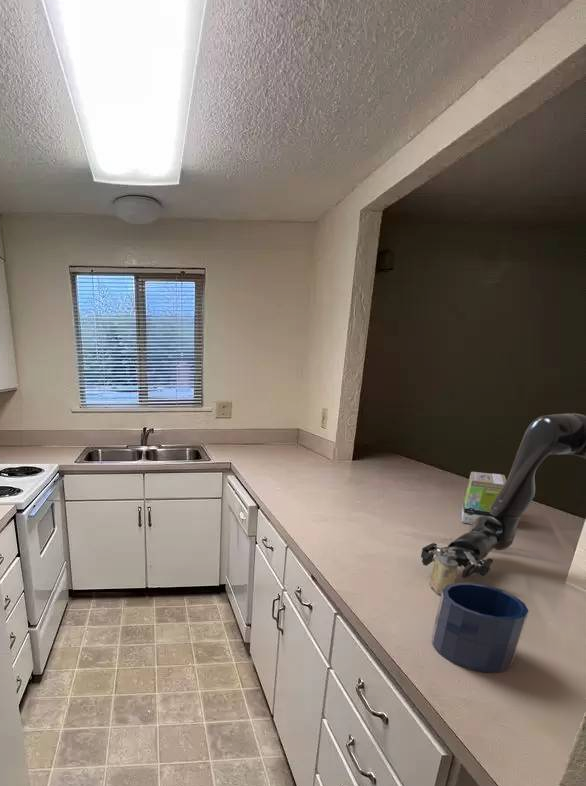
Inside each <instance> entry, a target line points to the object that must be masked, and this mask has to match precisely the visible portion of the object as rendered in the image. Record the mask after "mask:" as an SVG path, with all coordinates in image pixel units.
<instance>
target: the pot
mask: <svg viewBox="0 0 586 786" xmlns="http://www.w3.org/2000/svg"><path fill="white" fill-rule="evenodd" d="M529 611H530V610H529V609H528V607H527V605H526V603H525V602H524V601H523V600H521V599H519V598H518V597H517V596H515V595H513V594H511V593H509V592H507V591H505V590H502V589H500V588H496V587H493V586H489V585H487V584H479V583H474V582H455V583H454V584H450V585H446V587H445V588H444V589H443V590H442V593H441V595H440V597H439V603H438V607H437V612H436V616H435V620H434V624H433V625H434V626H433V630H432V635H431V644H432V646H433V648H434V650H435V651H436V652H437V653H438V654H439V655H440V656H442V657H443V658H444V659H446V660H447V661H449V662H451V663H453V664H455V665H457V666H459V667H462V668H464V669H467V670H470V671H473V672H474V671H475V672H479V673H484V674H485V673H486V674H498V673H503V672H505V671H508V670H509V669H510V668H511V667H512V664H513V662H514V660H515V658H516V657H515V656H516V653H517V651H518V647H519V643H520V641H521V637H522V634H523V631H524V628H525V624H526V620H527V618H528V614H529Z"/></svg>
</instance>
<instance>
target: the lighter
mask: <svg viewBox="0 0 586 786" xmlns="http://www.w3.org/2000/svg"><path fill="white" fill-rule="evenodd" d="M439 548H440V553H438V554H437V556H436V555H435V557H436V558H435V557H434V558H435V561H433V568H432V572H431V576H430V582H429V585H430V588H431V590H433V591H434V592H435V593H436V594H437V595H439V596H441V593H442V590H443V589H444V588H445V587H446V585H450V584H454V583H456V579H457V574H458V570H459V568H458V567H459V566H458V563H457V562H456V561H455V560H454V559H456V558H457V556H456V555H455V554H456V552H455V551H451V549H450V548H447V549H446V551H445V550H444V547H443V546H441V547H439ZM443 552H445V553H446V554H445V553H443Z"/></svg>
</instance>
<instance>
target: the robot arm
mask: <svg viewBox="0 0 586 786" xmlns="http://www.w3.org/2000/svg"><path fill="white" fill-rule="evenodd" d="M556 455H557V456H561V455H571V456H576V457H578V458H582V459H584V460H586V415H584V414H582V413H581V414H580V413H573V412H572V413H571V412H570V413H569V412H568V413H554V414H553V413H551V414H550V413H549V414H544V415H540V416H538V417H536V418H535V419H533V420H532V422H530V424H529V425H528V427H527V428H526V429H525V432H524V434H523V437H522V439H521V442H520V444H519V447H518V449H517V452H516V455H515V457H514V460H513V463H512V466H511V468H510V471H509V473H508V476H507V478H506V482H505V484H504V486H503V488H502V489H501V491H500V493H499V494H498V496H497V497H496V499H495V501H494V502H493V504H492V505H491V507H490V514H491V515H492V516H493V517H494V518H495V519H496V520H497V521H496V520H494V519H492V518H490V517H487V516H480V517H478V518H476V519H475V520H474V521H473V523H472V524H470V526H469V529H468V532H466V533H464V534H461V535H460V536H458V537H457V538H455V539H454V540H452V541H451V542H450V543H449V544H448V545H447V546H444V547H443V548H444V550H445V551H446V549H447V548H450V549H451V551H455V552H456V554H455V555H456V556H457V558H456V559H454V560H455V561H456V562H457V563H458V567H460V568H463V569H462V575H461V577H462V578H464V579H467V578H471V577H472V576H473V575H477V574H479V576H480V577H486V576H487V575H488V574H489V573H490V571H491V570H492V568H493V563H494V559H493V558H487V556H488V555H489V554H490V553H491V552H492V551H493V550H495V551H503V550H506V549H508V548H509V547H511V546H512V544H513V542H514V540H515V537H516V534H517V529H518V526H519V523H520V519H521V518H522V517H523V515H524V513H525V512H526V511H527V509H528V508H529V506H530V505H531V503H532V501H533V499H534V498H535V494H536V482H535V476H536V471H537V469H538V467H539V466H540V465H541V463H542V462H543V461H544V460H545V459H546V458H547V457H548V456H556ZM440 548H441V547H438V543H436V542H432V543H430V544H428V545H426V546H423V547H422V549H421V553H420V558H421V563H422V565H423V566H426V567H427V566H428V565H430V564H431V563H433V562H435V558H436V556H437V554H438V553H440ZM443 553H445V552H443ZM445 554H446V553H445ZM434 556H435V557H434Z"/></svg>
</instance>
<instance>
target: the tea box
mask: <svg viewBox="0 0 586 786" xmlns="http://www.w3.org/2000/svg"><path fill="white" fill-rule="evenodd" d="M506 480H507V478H506V475H505V474H501V473H489V472H480V471H471V472H470V475H469V478H468V482H467V486H466V491H465V495H464V499H463V503H462V508H461V523H463V524H469V525H471V524H472V523H473V521H474V520H475V519H476V518H478V517H480V516H487V517H490V518H492V519H494V520H496V519H495V518H494V517H493V516H492V515H491V514H490V507H491V505H492V504H493V502H494V501H495V499H496V497H497V496H498V494H499V493H500V491H501V489H502V488H503V486H504V484H505V482H506ZM496 521H497V520H496Z"/></svg>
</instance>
